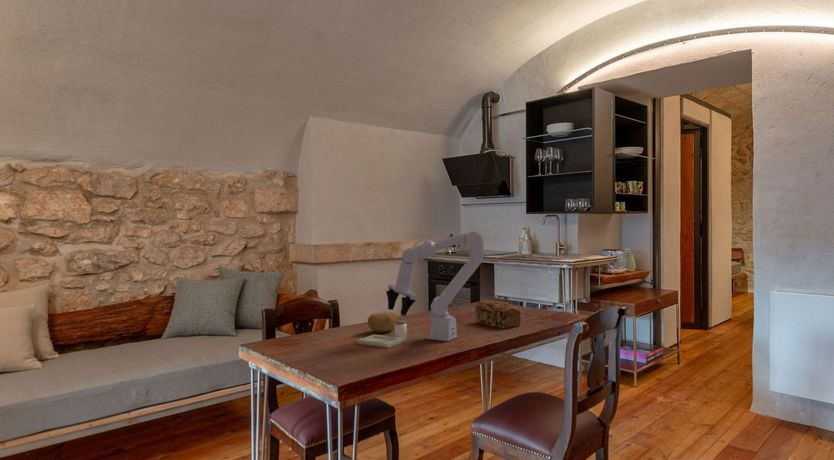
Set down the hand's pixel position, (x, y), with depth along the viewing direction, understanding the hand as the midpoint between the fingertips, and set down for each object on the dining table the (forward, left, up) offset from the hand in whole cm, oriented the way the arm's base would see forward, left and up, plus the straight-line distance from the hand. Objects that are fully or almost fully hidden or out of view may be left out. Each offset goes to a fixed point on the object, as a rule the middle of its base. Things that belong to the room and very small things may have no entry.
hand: (396, 312), depth 194 cm
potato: (+12, -7, -10) cm, 18 cm away
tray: (+1, +10, -10) cm, 14 cm away
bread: (-24, -41, -10) cm, 49 cm away
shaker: (-2, +1, -10) cm, 10 cm away
